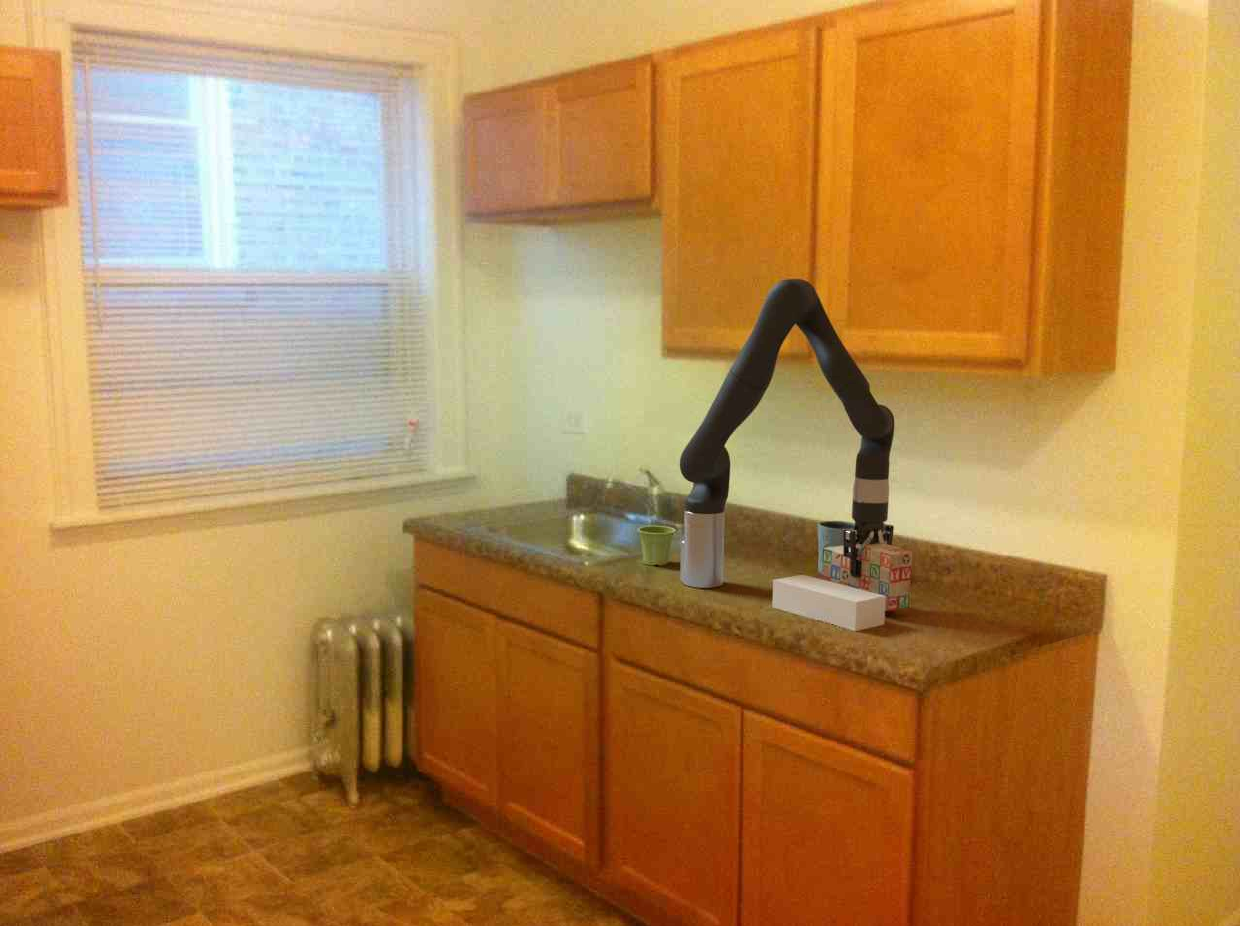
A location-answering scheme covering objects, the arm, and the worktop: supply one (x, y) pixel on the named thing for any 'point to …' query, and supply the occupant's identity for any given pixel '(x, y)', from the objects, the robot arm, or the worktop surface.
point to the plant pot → (656, 544)
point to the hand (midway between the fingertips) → (866, 574)
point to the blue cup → (831, 536)
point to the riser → (829, 602)
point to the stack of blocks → (873, 572)
